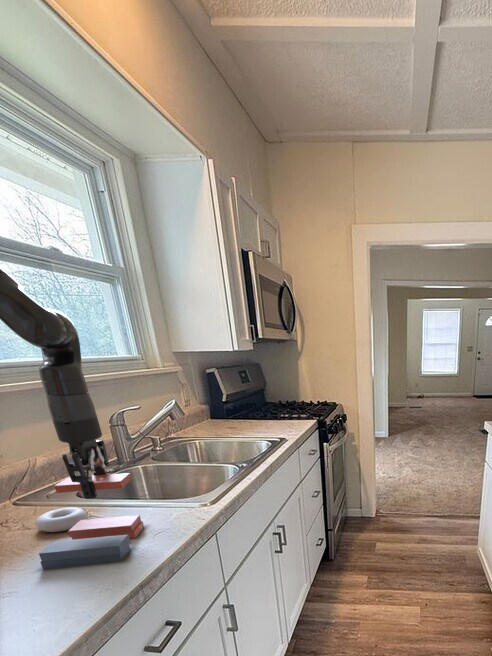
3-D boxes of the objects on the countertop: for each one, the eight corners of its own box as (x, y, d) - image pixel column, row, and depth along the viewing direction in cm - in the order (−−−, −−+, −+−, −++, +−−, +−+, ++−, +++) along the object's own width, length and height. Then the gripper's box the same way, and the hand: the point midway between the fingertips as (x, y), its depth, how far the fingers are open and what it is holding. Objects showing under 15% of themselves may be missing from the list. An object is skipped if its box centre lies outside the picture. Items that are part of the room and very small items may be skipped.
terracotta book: (56, 493, 84) (53, 485, 84) (70, 483, 90) (68, 476, 89) (122, 488, 87) (120, 481, 86) (132, 479, 92) (130, 472, 92)
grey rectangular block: (42, 569, 79) (36, 553, 77) (56, 556, 84) (51, 541, 82) (123, 561, 82) (119, 545, 80) (132, 549, 87) (128, 534, 85)
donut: (27, 533, 94) (63, 535, 92) (22, 520, 93) (58, 522, 91) (65, 516, 103) (99, 518, 102) (61, 504, 102) (95, 506, 100)
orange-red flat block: (72, 544, 89) (67, 531, 88) (84, 532, 94) (80, 519, 93) (135, 538, 91) (132, 525, 90) (144, 526, 97) (141, 514, 96)
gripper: (70, 411, 88) (92, 484, 95) (34, 423, 75) (62, 506, 82) (108, 410, 90) (127, 481, 96) (79, 421, 77) (103, 502, 83)
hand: (97, 492), depth 89 cm, fingers closed on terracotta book, 6 cm apart
